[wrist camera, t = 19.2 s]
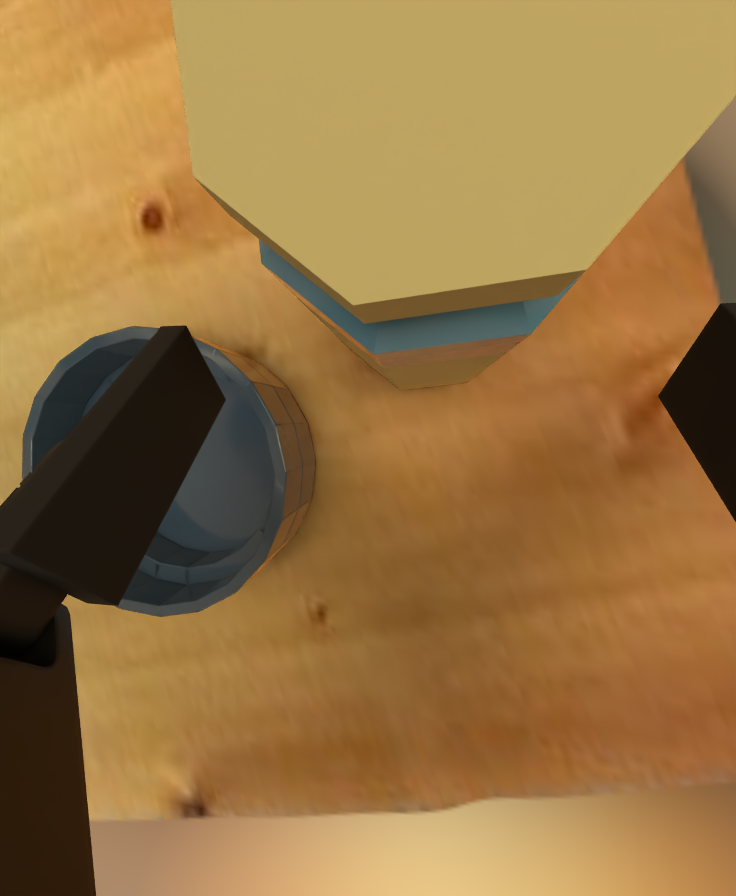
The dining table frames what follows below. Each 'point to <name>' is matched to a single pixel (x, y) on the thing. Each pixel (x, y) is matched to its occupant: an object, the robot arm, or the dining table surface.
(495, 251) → the jar
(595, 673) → the dining table surface
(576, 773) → the dining table surface
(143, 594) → the grey round bowl
